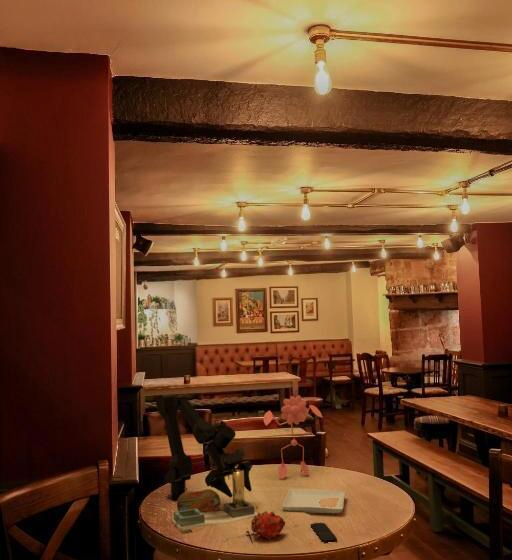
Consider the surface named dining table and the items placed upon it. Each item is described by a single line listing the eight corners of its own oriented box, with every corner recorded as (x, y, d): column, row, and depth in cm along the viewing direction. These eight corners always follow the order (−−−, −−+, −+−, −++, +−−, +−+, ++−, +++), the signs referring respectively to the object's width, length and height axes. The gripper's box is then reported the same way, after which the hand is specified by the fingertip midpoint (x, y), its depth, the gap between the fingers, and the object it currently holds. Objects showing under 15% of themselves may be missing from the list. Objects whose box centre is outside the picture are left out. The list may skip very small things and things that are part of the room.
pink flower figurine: (261, 477, 246) (260, 395, 248) (317, 472, 253) (315, 392, 255) (273, 487, 231) (272, 400, 233) (331, 481, 239) (330, 396, 241)
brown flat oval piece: (177, 519, 195) (177, 493, 196) (176, 516, 198) (176, 491, 199) (220, 514, 199) (220, 489, 200) (218, 511, 202) (218, 486, 203)
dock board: (171, 522, 192) (171, 511, 192) (247, 509, 204) (247, 498, 204) (182, 533, 181) (182, 521, 182) (262, 518, 193) (261, 508, 194)
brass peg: (231, 511, 198) (230, 470, 199) (241, 510, 200) (241, 469, 201) (235, 515, 195) (235, 473, 196) (246, 513, 196) (245, 471, 197)
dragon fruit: (247, 545, 174) (282, 544, 179) (258, 535, 169) (294, 534, 173) (243, 517, 180) (277, 517, 184) (254, 506, 174) (288, 506, 179)
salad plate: (343, 518, 193) (343, 507, 193) (281, 515, 197) (280, 505, 197) (346, 499, 214) (345, 490, 214) (289, 497, 218) (289, 488, 218)
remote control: (338, 545, 171) (324, 526, 186) (338, 539, 171) (324, 520, 186) (322, 546, 170) (309, 527, 185) (322, 540, 170) (309, 522, 185)
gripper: (209, 446, 195) (232, 485, 187) (248, 438, 209) (271, 474, 200) (195, 466, 200) (217, 505, 191) (233, 457, 213) (255, 492, 205)
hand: (241, 493), depth 197 cm, fingers open, 9 cm apart
